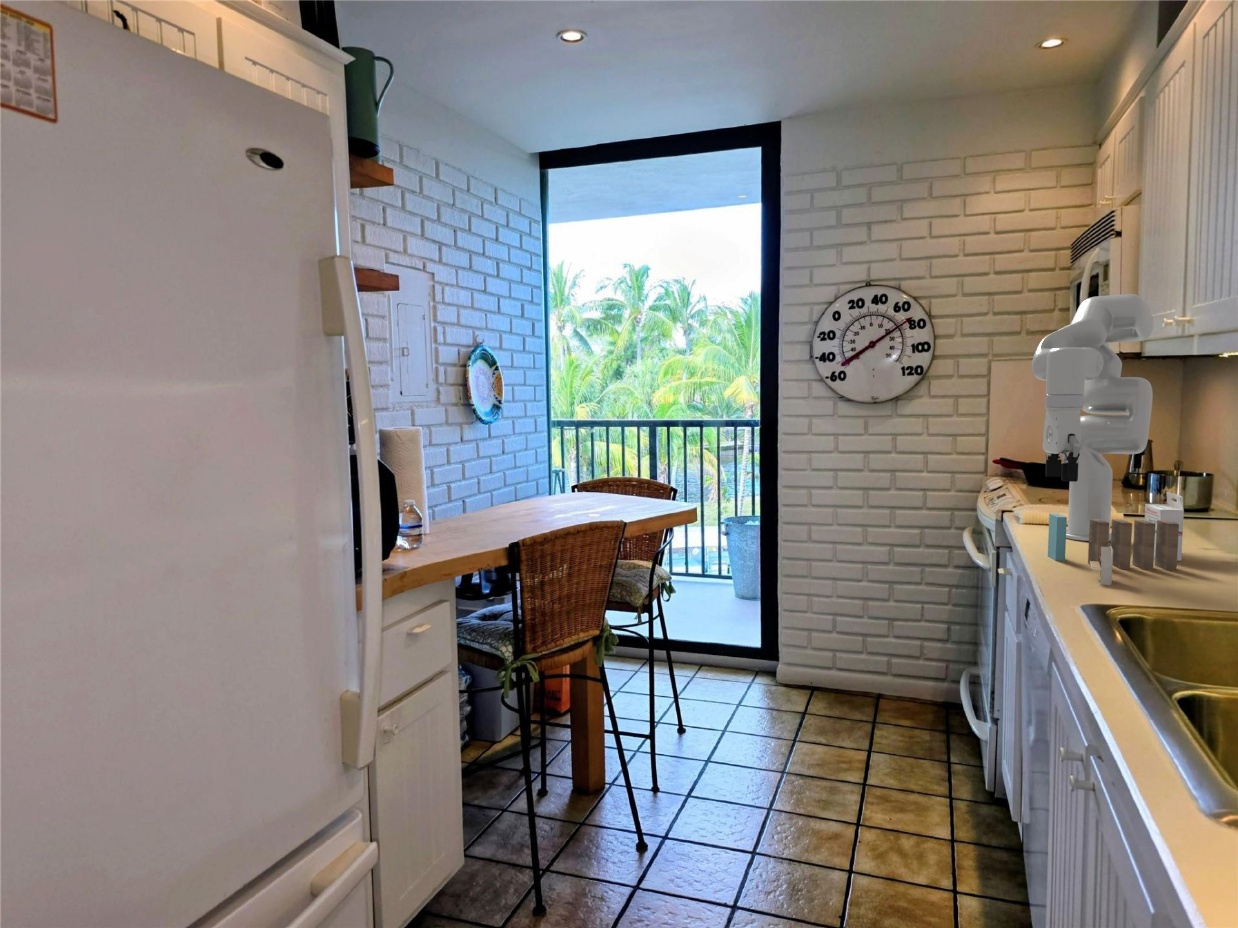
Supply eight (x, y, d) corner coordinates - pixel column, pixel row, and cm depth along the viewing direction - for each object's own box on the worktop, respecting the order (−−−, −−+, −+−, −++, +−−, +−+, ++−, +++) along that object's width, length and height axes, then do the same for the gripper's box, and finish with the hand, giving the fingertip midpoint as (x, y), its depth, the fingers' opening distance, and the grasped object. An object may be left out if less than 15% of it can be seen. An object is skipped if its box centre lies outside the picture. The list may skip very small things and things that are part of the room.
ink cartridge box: (1141, 553, 189) (1144, 490, 188) (1164, 553, 188) (1168, 491, 187) (1157, 560, 181) (1161, 495, 179) (1182, 561, 180) (1186, 496, 178)
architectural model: (1091, 586, 160) (1093, 549, 159) (1089, 578, 166) (1091, 543, 166) (1111, 587, 159) (1113, 550, 158) (1108, 580, 165) (1110, 544, 164)
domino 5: (1154, 565, 176) (1157, 520, 175) (1164, 565, 176) (1167, 520, 175) (1166, 570, 171) (1168, 523, 170) (1176, 570, 171) (1178, 524, 170)
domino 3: (1109, 564, 177) (1111, 519, 177) (1119, 564, 177) (1121, 519, 176) (1119, 569, 173) (1122, 523, 172) (1130, 569, 172) (1132, 523, 171)
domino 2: (1087, 563, 178) (1089, 518, 177) (1097, 563, 178) (1099, 519, 177) (1097, 568, 173) (1099, 522, 172) (1107, 568, 173) (1109, 522, 172)
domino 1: (1047, 556, 186) (1049, 513, 185) (1057, 556, 186) (1058, 513, 185) (1055, 560, 181) (1057, 517, 180) (1065, 561, 181) (1066, 517, 180)
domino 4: (1132, 564, 177) (1134, 519, 176) (1142, 564, 176) (1144, 519, 175) (1142, 569, 172) (1145, 523, 171) (1153, 570, 171) (1155, 523, 170)
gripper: (1033, 402, 189) (1030, 474, 191) (1060, 403, 172) (1057, 483, 174) (1067, 402, 188) (1064, 475, 189) (1098, 403, 171) (1094, 483, 172)
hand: (1061, 478), depth 182 cm, fingers open, 9 cm apart
